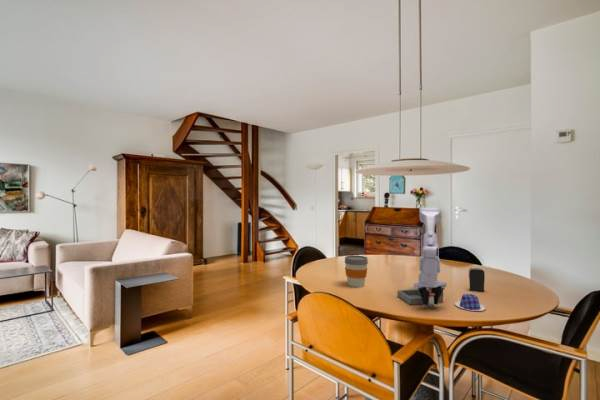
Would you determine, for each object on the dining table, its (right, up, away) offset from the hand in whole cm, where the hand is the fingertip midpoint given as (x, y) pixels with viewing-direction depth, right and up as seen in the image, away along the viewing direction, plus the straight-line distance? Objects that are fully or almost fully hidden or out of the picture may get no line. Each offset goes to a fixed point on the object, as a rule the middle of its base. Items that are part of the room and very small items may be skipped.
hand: (430, 304), depth 132 cm
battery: (+34, -1, +24) cm, 42 cm away
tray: (-3, -1, +10) cm, 10 cm away
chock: (+6, -2, +8) cm, 10 cm away
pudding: (+18, -2, +1) cm, 18 cm away
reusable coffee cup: (-26, -1, +34) cm, 43 cm away
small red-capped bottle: (0, -2, 0) cm, 2 cm away
